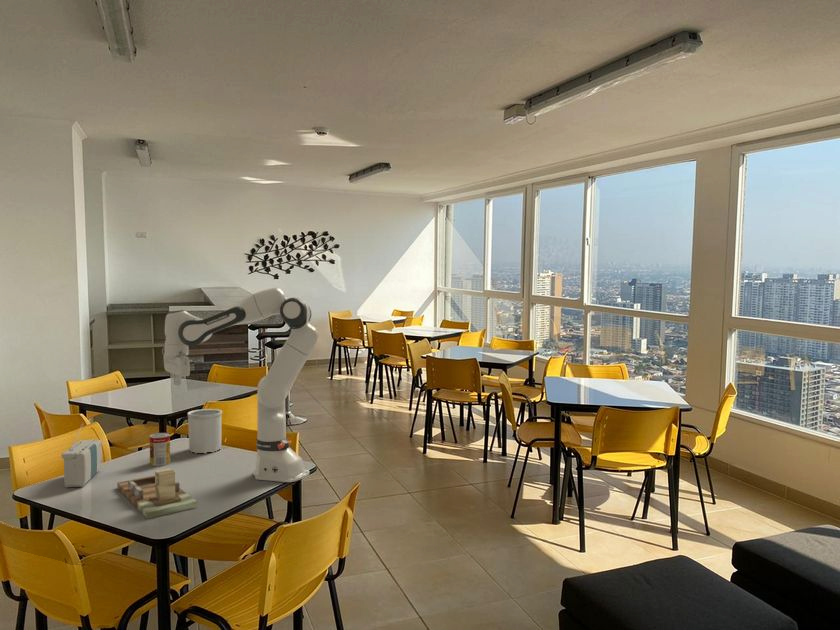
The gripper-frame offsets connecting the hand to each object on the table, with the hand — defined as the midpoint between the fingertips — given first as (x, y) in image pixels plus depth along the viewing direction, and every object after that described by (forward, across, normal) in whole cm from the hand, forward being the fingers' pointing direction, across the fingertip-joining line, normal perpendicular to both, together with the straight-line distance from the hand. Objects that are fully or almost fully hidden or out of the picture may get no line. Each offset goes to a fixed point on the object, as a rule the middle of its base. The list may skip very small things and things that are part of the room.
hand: (177, 384), depth 243 cm
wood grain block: (+33, -37, +16) cm, 52 cm away
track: (+35, -26, +16) cm, 46 cm away
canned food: (+35, +14, +3) cm, 38 cm away
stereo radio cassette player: (+35, +11, +32) cm, 49 cm away
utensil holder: (+35, +23, -20) cm, 47 cm away
